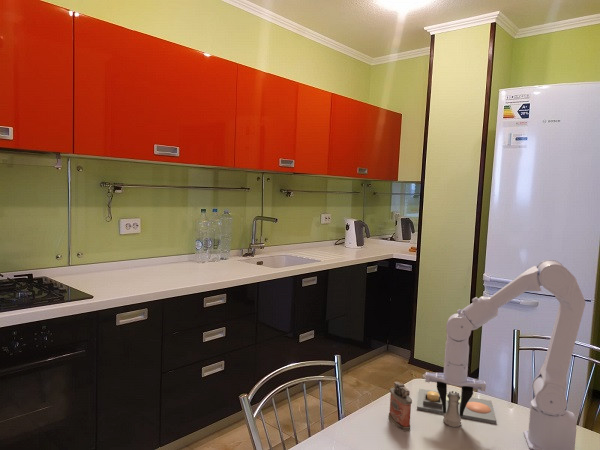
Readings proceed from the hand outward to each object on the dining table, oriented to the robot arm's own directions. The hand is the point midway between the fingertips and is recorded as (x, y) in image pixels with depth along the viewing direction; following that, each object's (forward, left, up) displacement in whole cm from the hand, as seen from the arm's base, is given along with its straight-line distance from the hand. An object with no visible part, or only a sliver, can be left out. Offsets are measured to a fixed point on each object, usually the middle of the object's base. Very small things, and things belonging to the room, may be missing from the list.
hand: (452, 412), depth 113 cm
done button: (+5, -8, -1) cm, 9 cm away
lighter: (+13, +5, -3) cm, 14 cm away
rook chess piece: (0, 0, -3) cm, 3 cm away
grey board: (-1, -10, -3) cm, 10 cm away
